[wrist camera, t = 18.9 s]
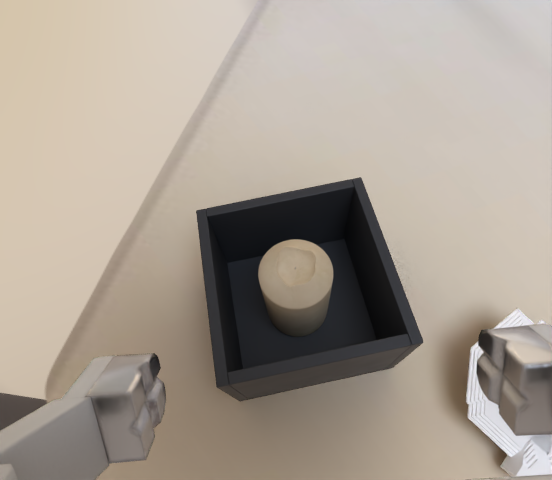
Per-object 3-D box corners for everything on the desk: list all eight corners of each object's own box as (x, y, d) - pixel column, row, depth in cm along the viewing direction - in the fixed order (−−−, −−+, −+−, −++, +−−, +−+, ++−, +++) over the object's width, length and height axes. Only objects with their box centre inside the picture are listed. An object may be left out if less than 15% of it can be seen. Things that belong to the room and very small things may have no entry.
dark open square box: (239, 401, 33) (216, 387, 24) (219, 260, 39) (195, 210, 31) (393, 367, 33) (424, 342, 25) (349, 233, 39) (361, 176, 31)
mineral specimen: (493, 284, 34) (561, 276, 27) (595, 377, 33) (691, 392, 26) (412, 391, 31) (465, 412, 24) (521, 495, 30) (607, 546, 24)
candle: (257, 298, 36) (242, 252, 27) (307, 270, 37) (308, 217, 28) (286, 349, 34) (280, 317, 25) (339, 318, 35) (350, 276, 26)
